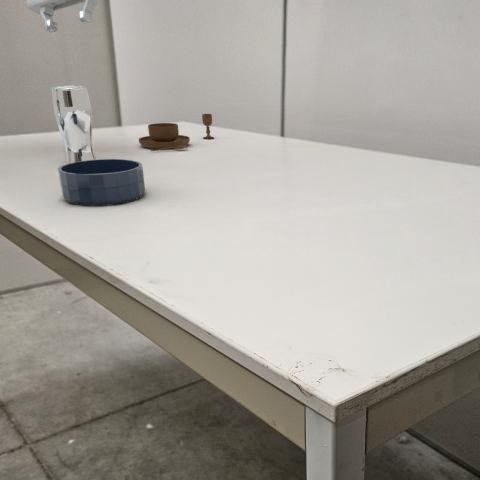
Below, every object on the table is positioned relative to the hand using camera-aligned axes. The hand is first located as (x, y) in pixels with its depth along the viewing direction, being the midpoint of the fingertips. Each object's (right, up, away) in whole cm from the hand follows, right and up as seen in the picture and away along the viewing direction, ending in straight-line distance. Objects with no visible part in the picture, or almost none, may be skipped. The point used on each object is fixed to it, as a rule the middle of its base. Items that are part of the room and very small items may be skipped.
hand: (68, 26), depth 122 cm
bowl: (+14, -38, -19) cm, 45 cm away
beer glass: (+1, -26, +5) cm, 27 cm away
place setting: (+16, -15, +28) cm, 36 cm away
